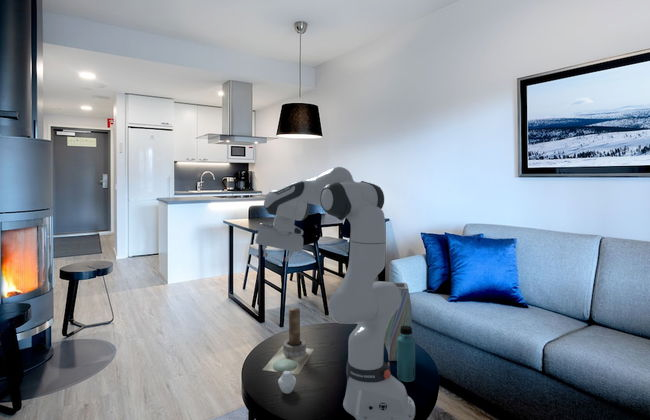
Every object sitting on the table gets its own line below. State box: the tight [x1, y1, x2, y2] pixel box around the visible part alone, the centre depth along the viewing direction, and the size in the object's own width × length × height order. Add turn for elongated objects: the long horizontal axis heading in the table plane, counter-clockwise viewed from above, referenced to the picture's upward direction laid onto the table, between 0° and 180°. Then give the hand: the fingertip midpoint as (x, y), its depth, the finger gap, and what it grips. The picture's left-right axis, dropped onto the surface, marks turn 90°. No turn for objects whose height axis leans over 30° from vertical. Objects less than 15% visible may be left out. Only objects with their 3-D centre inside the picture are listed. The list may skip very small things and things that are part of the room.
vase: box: [384, 281, 413, 362], centre depth 152 cm, size 14×14×30 cm
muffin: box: [277, 371, 297, 395], centre depth 128 cm, size 6×6×7 cm
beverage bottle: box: [396, 326, 417, 383], centre depth 134 cm, size 6×7×20 cm
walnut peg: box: [288, 307, 301, 346], centre depth 154 cm, size 4×4×18 cm
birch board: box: [262, 338, 315, 375], centre depth 149 cm, size 14×22×6 cm, turn 166°
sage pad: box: [273, 359, 296, 373], centre depth 143 cm, size 9×9×1 cm
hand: (275, 259), depth 159 cm, fingers open, 8 cm apart
